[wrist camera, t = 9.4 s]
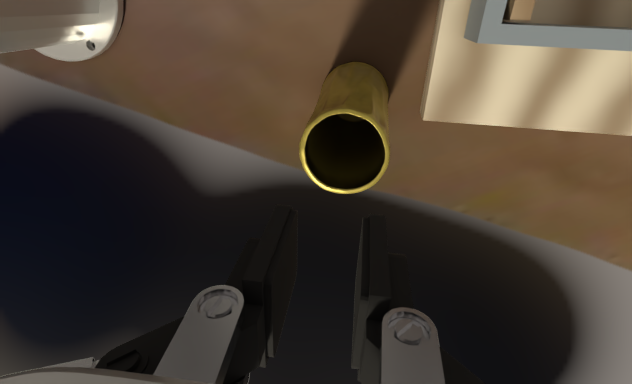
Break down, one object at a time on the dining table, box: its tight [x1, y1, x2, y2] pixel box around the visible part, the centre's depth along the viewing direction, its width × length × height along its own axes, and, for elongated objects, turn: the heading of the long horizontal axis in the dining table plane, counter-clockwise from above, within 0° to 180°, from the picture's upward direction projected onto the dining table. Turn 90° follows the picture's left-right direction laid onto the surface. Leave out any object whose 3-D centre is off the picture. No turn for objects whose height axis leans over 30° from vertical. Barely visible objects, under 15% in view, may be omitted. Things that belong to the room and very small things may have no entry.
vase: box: [299, 62, 390, 194], centre depth 27 cm, size 6×6×14 cm
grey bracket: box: [464, 0, 632, 51], centre depth 24 cm, size 14×4×4 cm, turn 88°
